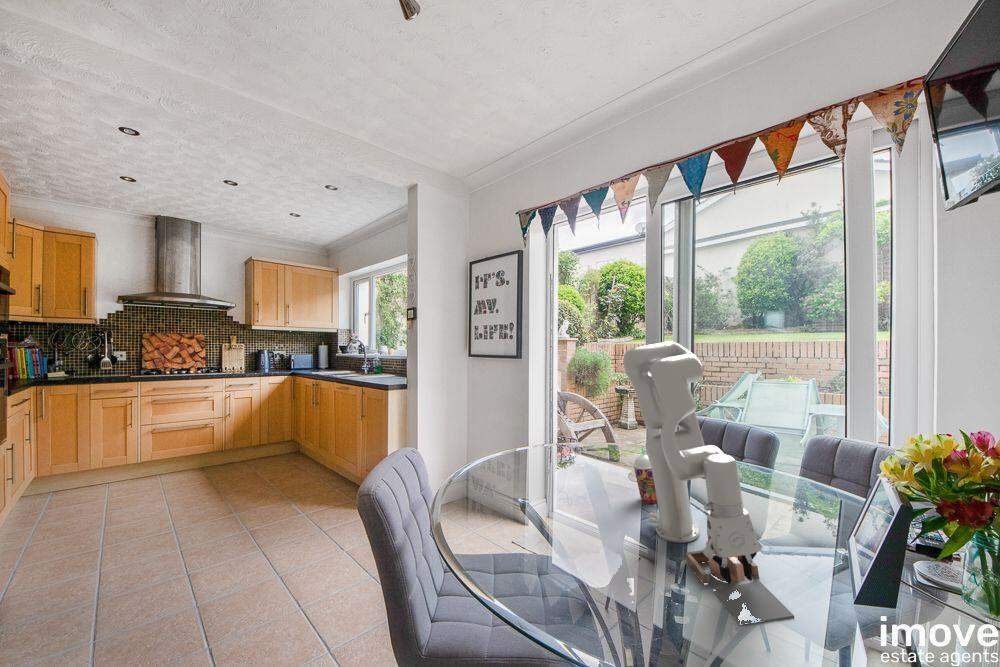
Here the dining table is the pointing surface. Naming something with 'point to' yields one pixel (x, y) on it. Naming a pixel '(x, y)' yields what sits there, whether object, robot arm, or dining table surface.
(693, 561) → the holder
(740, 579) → the rounded block with tab
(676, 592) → the dining table surface
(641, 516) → the dining table surface
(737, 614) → the mat
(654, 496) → the smoothie
